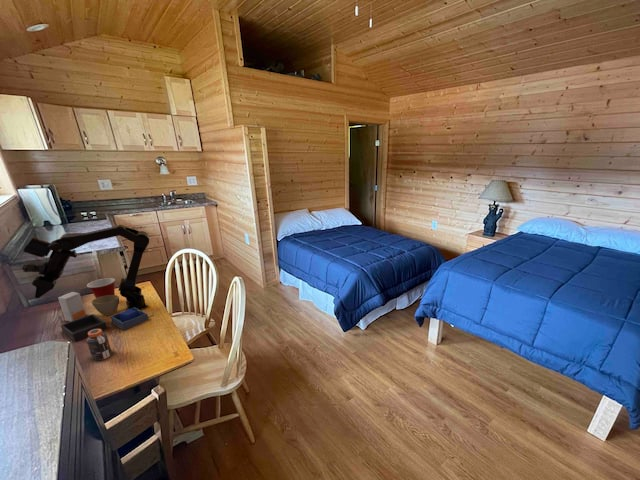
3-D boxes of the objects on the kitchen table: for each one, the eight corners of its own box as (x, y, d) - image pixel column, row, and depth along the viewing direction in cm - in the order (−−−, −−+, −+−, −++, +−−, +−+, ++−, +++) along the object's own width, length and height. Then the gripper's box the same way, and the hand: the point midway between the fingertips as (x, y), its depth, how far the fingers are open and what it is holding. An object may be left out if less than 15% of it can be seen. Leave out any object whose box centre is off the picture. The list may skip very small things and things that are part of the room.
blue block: (130, 317, 140) (128, 308, 138) (138, 319, 139) (136, 310, 137) (121, 322, 136) (119, 313, 134) (129, 324, 135) (127, 315, 133)
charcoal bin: (94, 320, 136) (92, 314, 135) (107, 328, 131) (105, 322, 130) (62, 332, 127) (60, 325, 125) (75, 341, 122) (72, 334, 121)
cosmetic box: (73, 322, 133) (65, 298, 129) (65, 320, 134) (57, 297, 130) (87, 315, 139) (79, 292, 134) (79, 314, 140) (72, 291, 135)
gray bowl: (127, 310, 145) (123, 297, 143) (103, 319, 136) (100, 305, 134) (113, 306, 148) (110, 293, 146) (90, 314, 139) (86, 301, 137)
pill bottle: (114, 355, 116) (107, 331, 112) (94, 363, 112) (86, 338, 107) (109, 349, 119) (102, 325, 115) (90, 356, 115) (81, 331, 111)
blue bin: (136, 313, 144) (135, 307, 143) (148, 320, 140) (147, 313, 138) (111, 322, 135) (110, 316, 134) (123, 330, 131) (122, 323, 130)
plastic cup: (107, 296, 156) (101, 275, 151) (126, 299, 155) (120, 278, 150) (86, 306, 146) (79, 284, 141) (106, 309, 145) (100, 287, 140)
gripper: (37, 246, 128) (20, 278, 128) (23, 261, 113) (4, 296, 114) (71, 257, 135) (54, 286, 135) (61, 272, 121) (43, 305, 121)
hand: (39, 293), depth 126 cm, fingers open, 9 cm apart
